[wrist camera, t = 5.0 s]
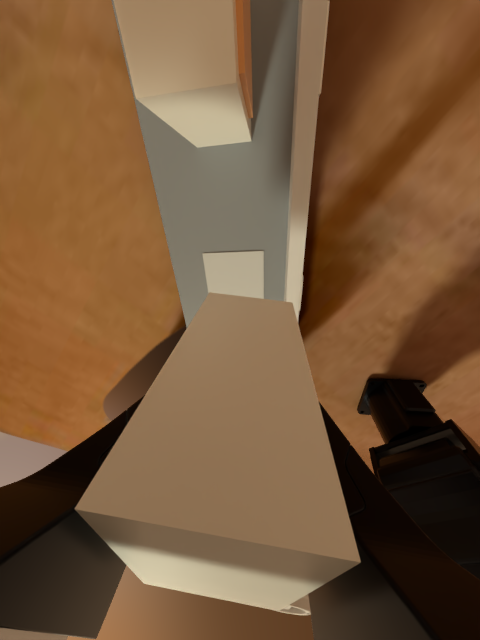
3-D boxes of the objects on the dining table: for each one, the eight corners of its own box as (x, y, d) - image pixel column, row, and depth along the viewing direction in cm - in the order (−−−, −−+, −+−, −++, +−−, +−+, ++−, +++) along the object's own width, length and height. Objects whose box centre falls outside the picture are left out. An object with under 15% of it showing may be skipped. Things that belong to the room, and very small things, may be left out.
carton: (297, 303, 9) (380, 566, 3) (275, 388, 13) (287, 613, 6) (209, 292, 10) (74, 509, 3) (209, 379, 13) (144, 583, 6)
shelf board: (292, 338, 24) (296, 358, 21) (194, 336, 25) (184, 354, 22) (324, -52, 11) (345, -148, 8) (121, -4, 13) (76, -70, 10)
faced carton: (252, 0, 11) (227, -325, 4) (255, 140, 14) (243, 81, 7) (180, 15, 12) (56, -249, 5) (197, 147, 15) (135, 98, 8)
